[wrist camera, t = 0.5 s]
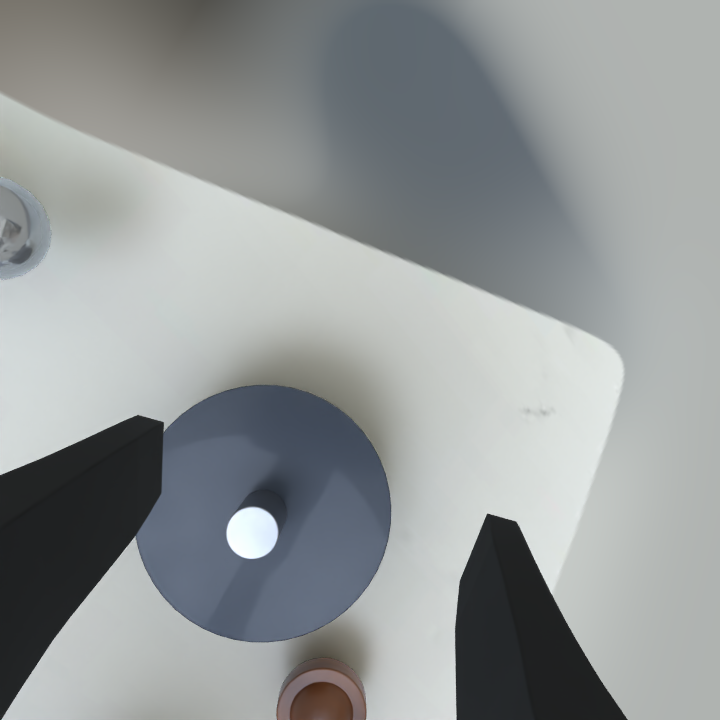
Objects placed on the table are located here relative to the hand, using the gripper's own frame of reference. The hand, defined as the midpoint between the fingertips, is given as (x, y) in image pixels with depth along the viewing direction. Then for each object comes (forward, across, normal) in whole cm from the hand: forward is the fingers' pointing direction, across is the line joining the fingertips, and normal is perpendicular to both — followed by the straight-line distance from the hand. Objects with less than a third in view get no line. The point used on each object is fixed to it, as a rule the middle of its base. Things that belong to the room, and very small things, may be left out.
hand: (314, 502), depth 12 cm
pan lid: (+12, +4, +12) cm, 18 cm away
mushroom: (+12, -1, +25) cm, 27 cm away
